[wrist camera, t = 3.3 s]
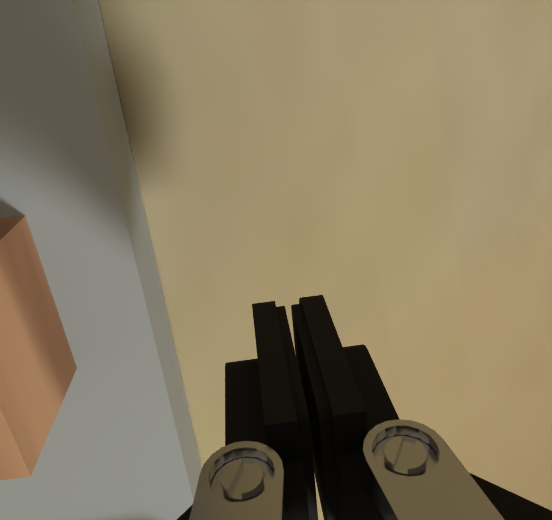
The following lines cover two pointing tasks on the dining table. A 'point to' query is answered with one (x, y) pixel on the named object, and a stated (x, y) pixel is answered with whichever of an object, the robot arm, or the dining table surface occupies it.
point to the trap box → (90, 277)
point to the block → (28, 352)
